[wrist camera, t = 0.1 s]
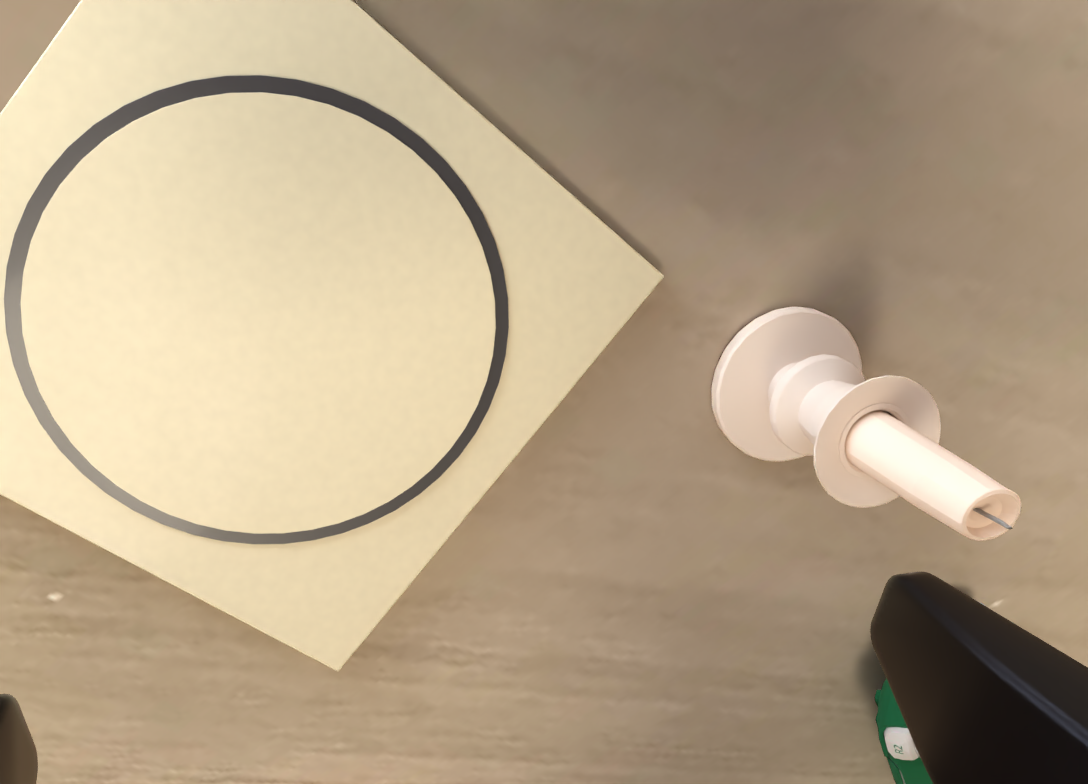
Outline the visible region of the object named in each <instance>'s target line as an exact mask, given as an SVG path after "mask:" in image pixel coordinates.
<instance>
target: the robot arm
mask: <svg viewBox="0 0 1088 784" xmlns="http://www.w3.org/2000/svg"><path fill="white" fill-rule="evenodd" d="M870 633H871V640H872V644H873V647H874V650H875V652H876V654H877V657H878V659H879V662H880V664H881V666H882V669H883V671H884V673H885V676H886V678H887V680H888V683H889V685H890V688H891V690H892V692H893V695H894V697H895V699H896V702H897V704H898V706H899V709H900V711H901V714H902V716H903V718H904V721H905V723H906V725H907V728H908V730H909V732H910V735H911V737H912V740H913V742H914V744H915V747H916V749H917V751H918V753H919V755H920V758H921V760H922V762H923V764H924V766H925V769H926V771H927V773H928V774H929V776H930V778H931V780H932V782H933V784H1088V668H1087V667H1086V666H1084V665H1082V664H1081V663H1079V662H1077V661H1076V660H1074V659H1072V658H1071V657H1069V656H1067V655H1066V654H1064V653H1062V652H1061V651H1059V650H1057V649H1056V648H1054V647H1052V646H1051V645H1049V644H1047V643H1046V642H1044V641H1042V640H1041V639H1039V638H1037V637H1036V636H1034V635H1032V634H1031V633H1029V632H1027V631H1026V630H1024V629H1022V628H1021V627H1019V626H1017V625H1016V624H1014V623H1012V622H1011V621H1009V620H1007V619H1006V618H1004V617H1002V616H1001V615H999V614H997V613H996V612H994V611H992V610H991V609H989V608H987V607H986V606H984V605H982V604H981V603H979V602H977V601H976V600H974V599H972V598H971V597H969V596H967V595H966V594H964V593H962V592H961V591H959V590H957V589H956V588H954V587H952V586H951V585H949V584H947V583H946V582H944V581H942V580H941V579H939V578H937V577H936V576H934V575H932V574H930V573H927V572H913V573H906V574H898V575H895V576H892V577H891V578H890V579H889V580H888V582H887V583H886V586H885V588H884V591H883V593H882V596H881V599H880V601H879V604H878V606H877V609H876V612H875V614H874V617H873V619H872V622H871V629H870ZM37 771H38V760H37V752H36V748H35V745H34V742H33V739H32V737H31V734H30V732H29V729H28V727H27V724H26V722H25V719H24V716H23V714H22V711H21V709H20V706H19V704H18V702H17V700H16V699H15V698H14V697H13V696H12V695H10V694H0V784H36V780H37Z"/></svg>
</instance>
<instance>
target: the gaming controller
mask: <svg viewBox="0 0 1088 784" xmlns="http://www.w3.org/2000/svg"><path fill="white" fill-rule="evenodd" d="M875 702H876V704H877V706H878V713H877V716H876V723H877V725H878V732H879V740H880V743H881V746H882V749H883V752H884V756H886V757H887V759H888V762H889V765H890V768H891V771H892V774H893V777H894V780H895V782H896V784H933V782H932V780H931V778H930V776H929V774H928V773H927V771H926V769H925V766H924V764H923V762H922V760H921V758H920V755H919V753H918V751H917V749H916V747H915V744H914V742H913V740H912V737H911V735H910V732H909V730H908V728H907V725H906V723H905V721H904V718H903V716H902V714H901V711H900V709H899V706H898V704H897V702H896V699H895V697H894V695H893V692H892V690H891V688H890V685H889V683H888V680H887V678H886V680H885V681H884V683H883V686H882V689H881V690H877V691H876V695H875Z"/></svg>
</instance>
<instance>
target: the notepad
mask: <svg viewBox="0 0 1088 784" xmlns="http://www.w3.org/2000/svg"><path fill="white" fill-rule="evenodd" d="M663 277H664V276H663V274H661V273H660V272H659V271H658V270H657V269H656V268H655V267H654V266H652V265H651V264H650V263H649V262H648V261H647V260H646V259H644V258H643V257H642V256H641V255H640V254H639V253H638V252H637V251H635V250H634V249H633V248H632V247H631V246H630V245H629V244H627V243H626V242H625V241H624V240H623V239H622V238H621V237H620V236H618V235H617V234H616V233H615V232H614V231H613V230H612V229H611V228H609V227H608V226H607V225H606V224H605V223H604V222H603V221H601V220H600V219H599V218H598V217H597V216H596V215H595V214H594V213H592V212H591V211H590V210H589V209H588V208H587V207H586V206H584V205H583V204H582V203H581V202H580V201H579V200H578V199H577V198H575V197H574V196H573V195H572V194H571V193H570V192H569V191H567V190H566V189H565V188H564V187H563V186H562V185H561V184H560V183H558V182H557V181H556V180H555V179H554V178H553V177H552V176H550V175H549V174H548V173H547V172H546V171H545V170H544V169H543V168H541V167H540V166H539V165H538V164H537V163H536V162H535V161H533V160H532V159H531V158H530V157H529V156H528V155H527V154H526V153H524V152H523V151H522V150H521V149H520V148H519V147H518V146H516V145H515V144H514V143H513V142H512V141H511V140H510V139H509V138H507V137H506V136H505V135H504V134H503V133H502V132H501V131H500V130H498V129H497V128H496V127H495V126H494V125H493V124H492V123H490V122H489V121H488V120H487V119H486V118H485V117H484V116H483V115H481V114H480V113H479V112H478V111H477V110H476V109H475V108H473V107H472V106H471V105H470V104H469V103H468V102H467V101H466V100H464V99H463V98H462V97H461V96H460V95H459V94H458V93H456V92H455V91H454V90H453V89H452V88H451V87H450V86H449V85H447V84H446V83H445V82H444V81H443V80H442V79H441V78H439V77H438V76H437V75H436V74H435V73H434V72H433V71H432V70H430V69H429V68H428V67H427V66H426V65H425V64H424V63H422V62H421V61H420V60H419V59H418V58H417V57H416V56H415V55H413V54H412V53H411V52H410V51H409V50H408V49H407V48H405V47H404V46H403V45H402V44H401V43H400V42H399V41H398V40H396V39H395V38H394V37H393V36H392V35H391V34H390V33H389V32H387V31H386V30H385V29H384V28H383V27H382V26H381V25H379V24H378V23H377V22H376V21H375V20H374V19H373V18H372V17H370V16H369V15H368V14H367V13H366V12H365V11H364V10H362V9H361V8H360V7H359V6H358V5H357V4H356V3H355V2H353V1H352V0H81V1H80V2H79V4H78V5H77V6H76V8H75V9H74V11H73V12H72V13H71V15H70V16H69V18H68V19H67V20H66V22H65V23H64V25H63V26H62V28H61V29H60V30H59V32H58V33H57V35H56V36H55V37H54V39H53V40H52V42H51V43H50V44H49V46H48V47H47V49H46V50H45V51H44V53H43V54H42V56H41V57H40V58H39V60H38V61H37V63H36V64H35V65H34V67H33V68H32V70H31V71H30V73H29V74H28V75H27V77H26V78H25V80H24V81H23V82H22V84H21V85H20V87H19V88H18V89H17V91H16V92H15V94H14V95H13V96H12V98H11V99H10V101H9V102H8V103H7V105H6V106H5V108H4V109H3V110H2V112H1V113H0V495H2V496H4V497H6V498H8V499H10V500H12V501H13V502H15V503H17V504H19V505H21V506H23V507H25V508H27V509H29V510H31V511H33V512H34V513H36V514H38V515H40V516H42V517H44V518H46V519H48V520H50V521H52V522H53V523H55V524H57V525H59V526H61V527H63V528H65V529H67V530H69V531H71V532H73V533H74V534H76V535H78V536H80V537H82V538H84V539H86V540H88V541H90V542H92V543H94V544H95V545H97V546H99V547H101V548H103V549H105V550H107V551H109V552H111V553H113V554H114V555H116V556H118V557H120V558H122V559H124V560H126V561H128V562H130V563H132V564H134V565H135V566H137V567H139V568H141V569H143V570H145V571H147V572H149V573H151V574H153V575H155V576H156V577H158V578H160V579H162V580H164V581H166V582H168V583H170V584H172V585H174V586H175V587H177V588H179V589H181V590H183V591H185V592H187V593H189V594H191V595H193V596H195V597H196V598H198V599H200V600H202V601H204V602H206V603H208V604H210V605H212V606H214V607H215V608H217V609H219V610H221V611H223V612H225V613H227V614H229V615H231V616H233V617H235V618H236V619H238V620H240V621H242V622H244V623H246V624H248V625H250V626H252V627H254V628H256V629H257V630H259V631H261V632H263V633H265V634H267V635H269V636H271V637H273V638H275V639H276V640H278V641H280V642H282V643H284V644H286V645H288V646H290V647H292V648H294V649H296V650H297V651H299V652H301V653H303V654H305V655H307V656H309V657H311V658H313V659H315V660H317V661H318V662H320V663H322V664H324V665H326V666H328V667H330V668H332V669H334V670H336V671H339V670H340V669H341V668H342V667H343V665H344V664H345V663H346V662H347V661H348V659H349V658H350V657H351V656H352V655H353V653H354V652H355V651H356V650H357V648H358V647H359V646H360V645H361V644H362V642H363V641H364V640H365V639H366V638H367V636H368V635H369V634H370V633H371V631H372V630H373V629H374V628H375V627H376V625H377V624H378V623H379V622H380V621H381V619H382V618H383V617H384V616H385V614H386V613H387V612H388V611H389V610H390V608H391V607H392V606H393V605H394V604H395V602H396V601H397V600H398V599H399V598H400V596H401V595H402V594H403V593H404V591H405V590H406V589H407V588H408V587H409V585H410V584H411V583H412V582H413V581H414V579H415V578H416V577H417V576H418V574H419V573H420V572H421V571H422V570H423V568H424V567H425V566H426V565H427V564H428V562H429V561H430V560H431V559H432V558H433V556H434V555H435V554H436V553H437V551H438V550H439V549H440V548H441V547H442V545H443V544H444V543H445V542H446V541H447V539H448V538H449V537H450V536H451V534H452V533H453V532H454V531H455V530H456V528H457V527H458V526H459V525H460V524H461V522H462V521H463V520H464V519H465V517H466V516H467V515H468V514H469V513H470V511H471V510H472V509H473V508H474V507H475V505H476V504H477V503H478V502H479V501H480V499H481V498H482V497H483V496H484V494H485V493H486V492H487V491H488V490H489V488H490V487H491V486H492V485H493V484H494V482H495V481H496V480H497V479H498V477H499V476H500V475H501V474H502V473H503V471H504V470H505V469H506V468H507V467H508V465H509V464H510V463H511V462H512V461H513V459H514V458H515V457H516V456H517V454H518V453H519V452H520V451H521V450H522V448H523V447H524V446H525V445H526V444H527V442H528V441H529V440H530V439H531V437H532V436H533V435H534V434H535V433H536V431H537V430H538V429H539V428H540V427H541V425H542V424H543V423H544V422H545V420H546V419H547V418H548V417H549V416H550V414H551V413H552V412H553V411H554V410H555V408H556V407H557V406H558V405H559V404H560V402H561V401H562V400H563V399H564V397H565V396H566V395H567V394H568V393H569V391H570V390H571V389H572V388H573V387H574V385H575V384H576V383H577V382H578V380H579V379H580V378H581V377H582V376H583V374H584V373H585V372H586V371H587V370H588V368H589V367H590V366H591V365H592V364H593V362H594V361H595V360H596V359H597V357H598V356H599V355H600V354H601V353H602V351H603V350H604V349H605V348H606V347H607V345H608V344H609V343H610V342H611V340H612V339H613V338H614V337H615V336H616V334H617V333H618V332H619V331H620V330H621V328H622V327H623V326H624V325H625V323H626V322H627V321H628V320H629V319H630V317H631V316H632V315H633V314H634V313H635V311H636V310H637V309H638V308H639V307H640V305H641V304H642V303H643V302H644V300H645V299H646V298H647V297H648V296H649V294H650V293H651V292H652V291H653V290H654V288H655V287H656V286H657V285H658V283H659V282H660V281H661V280H662V279H663Z"/></svg>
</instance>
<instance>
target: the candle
mask: <svg viewBox="0 0 1088 784" xmlns="http://www.w3.org/2000/svg"><path fill="white" fill-rule="evenodd" d="M711 394H712V409H713V412H714V415H715V418H716V421H717V425H718V427H719V428H720V429H721V431H722V432H723V434H724V435H725V436H726V438H727V439H728V440H729V441H730V442H731V443H732V444H733V445H735V446H736V447H737V448H739V449H740V450H741V451H743V452H744V453H745V454H747V455H749V456H752V457H755V458H757V459H760V460H763V461H779V462H782V461H787V460H792V459H797V458H801V457H803V456H805V455H809V456H814V467H815V471H816V474H817V478H818V480H819V482H820V483H821V485H822V486H823V488H824V489H825V491H826V492H827V493H828V494H829V495H831V496H832V497H833V498H835V499H836V500H837V501H839V502H841V503H843V504H846V505H849V506H852V507H873V506H878V505H882V504H886V503H888V502H890V501H892V500H894V499H896V498H898V497H900V496H901V497H902V498H904V499H905V500H907V501H908V502H910V503H911V504H913V505H914V506H916V507H917V508H919V509H920V510H922V511H924V512H925V513H927V514H929V515H930V516H932V517H934V518H935V519H937V520H938V521H940V522H942V523H943V524H945V525H947V526H948V527H950V528H952V529H953V530H955V531H957V532H958V533H960V534H962V535H963V536H965V537H967V538H970V539H973V540H979V541H983V540H990V539H993V538H996V537H999V536H1000V535H1002V534H1004V533H1005V532H1007V531H1008V530H1009V529H1012V526H1013V525H1014V524H1015V522H1016V521H1017V519H1018V517H1019V515H1020V512H1021V508H1022V507H1021V500H1020V498H1019V496H1018V495H1017V494H1016V493H1015V492H1014V491H1012V490H1009V489H1007V488H1006V487H1004V486H1003V485H1001V484H1000V483H998V482H997V481H995V480H994V479H992V478H991V477H989V476H988V475H986V474H985V473H983V472H982V471H980V470H979V469H977V468H976V467H974V466H973V465H971V464H970V463H968V462H966V461H965V460H963V459H961V458H960V457H958V456H956V455H955V454H953V453H952V452H950V451H948V450H947V449H945V448H943V447H942V446H940V445H938V444H939V441H940V432H941V419H940V415H939V410H938V406H937V404H936V402H935V401H934V399H933V397H932V395H931V393H929V392H928V391H927V390H926V389H925V388H924V387H923V386H922V385H921V384H919V383H918V382H915V381H913V380H911V379H908V378H906V377H902V376H891V375H886V376H881V377H876V378H871V379H869V380H867V381H866V380H865V378H864V376H863V375H862V361H861V357H860V353H859V349H858V345H857V344H856V342H855V340H854V339H853V337H852V335H851V334H850V332H849V330H848V329H847V328H845V327H844V326H843V325H842V324H841V323H840V322H839V321H838V320H837V319H835V318H833V317H831V316H829V315H826V314H824V313H822V312H820V311H817V310H815V309H813V308H804V307H794V306H793V307H788V308H782V309H776V310H773V311H771V312H769V313H766V314H764V315H762V316H760V317H758V318H756V319H754V320H753V321H752V322H750V323H749V324H748V325H747V326H745V327H744V328H743V329H742V330H740V331H739V332H738V333H737V334H736V336H735V337H734V338H733V339H732V341H731V342H730V343H729V344H728V346H727V347H726V348H725V350H724V352H723V354H722V356H721V358H720V360H719V362H718V364H717V366H716V369H715V373H714V378H713V383H712V387H711Z"/></svg>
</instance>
